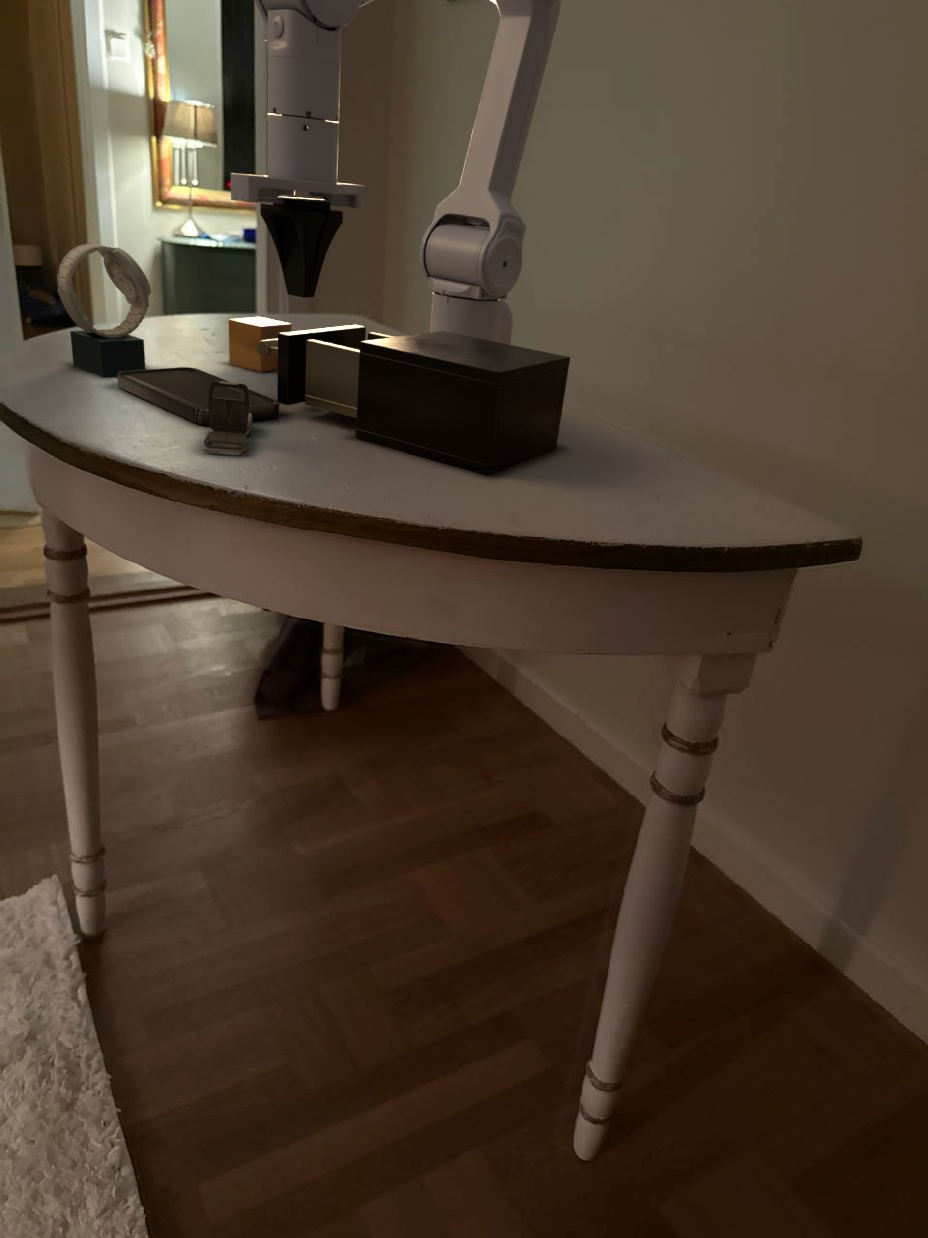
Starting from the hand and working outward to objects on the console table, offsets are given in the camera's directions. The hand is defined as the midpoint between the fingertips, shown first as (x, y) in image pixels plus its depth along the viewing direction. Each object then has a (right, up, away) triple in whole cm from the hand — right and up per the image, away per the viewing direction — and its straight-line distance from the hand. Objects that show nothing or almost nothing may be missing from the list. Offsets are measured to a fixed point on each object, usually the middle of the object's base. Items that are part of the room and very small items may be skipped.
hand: (300, 295), depth 77 cm
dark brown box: (+14, -14, -4) cm, 20 cm away
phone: (-9, -10, -1) cm, 13 cm away
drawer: (+4, -9, 0) cm, 10 cm away
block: (-7, -2, +15) cm, 17 cm away
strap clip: (-4, -15, -10) cm, 18 cm away
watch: (-20, -5, +7) cm, 21 cm away
